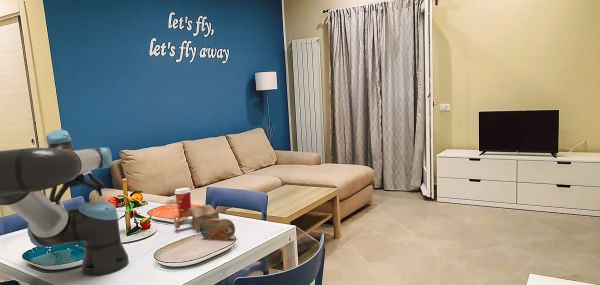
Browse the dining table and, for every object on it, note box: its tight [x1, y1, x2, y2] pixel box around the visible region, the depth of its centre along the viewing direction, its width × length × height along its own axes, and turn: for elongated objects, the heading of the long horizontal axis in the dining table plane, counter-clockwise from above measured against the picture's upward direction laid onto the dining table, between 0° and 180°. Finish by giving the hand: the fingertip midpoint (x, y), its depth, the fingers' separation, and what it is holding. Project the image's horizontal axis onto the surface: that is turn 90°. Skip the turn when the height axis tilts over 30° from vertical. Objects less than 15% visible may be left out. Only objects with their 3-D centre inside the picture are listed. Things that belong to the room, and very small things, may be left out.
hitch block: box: [188, 204, 220, 233], centre depth 186 cm, size 10×16×7 cm, turn 26°
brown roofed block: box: [173, 215, 194, 230], centre depth 183 cm, size 14×5×5 cm, turn 116°
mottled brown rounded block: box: [199, 218, 236, 241], centre depth 167 cm, size 15×3×8 cm, turn 73°
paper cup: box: [174, 187, 192, 218], centre depth 200 cm, size 8×8×14 cm
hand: (82, 206), depth 170 cm, fingers open, 13 cm apart
